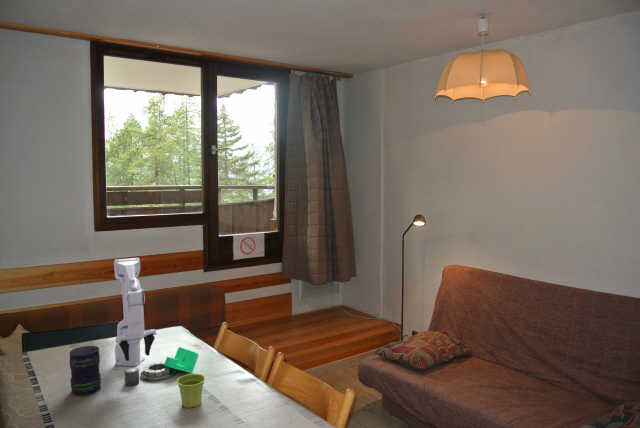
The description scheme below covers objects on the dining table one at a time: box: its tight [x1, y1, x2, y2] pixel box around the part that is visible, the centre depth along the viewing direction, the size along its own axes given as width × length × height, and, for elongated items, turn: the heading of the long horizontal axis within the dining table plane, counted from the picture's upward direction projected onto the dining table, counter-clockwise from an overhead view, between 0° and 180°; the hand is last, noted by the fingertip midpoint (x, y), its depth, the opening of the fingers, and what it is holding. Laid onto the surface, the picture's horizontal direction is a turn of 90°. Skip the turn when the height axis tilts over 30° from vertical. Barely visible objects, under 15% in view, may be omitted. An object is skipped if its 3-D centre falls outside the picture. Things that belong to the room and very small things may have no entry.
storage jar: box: [69, 345, 102, 397], centre depth 173 cm, size 10×10×15 cm
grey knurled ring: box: [139, 361, 176, 382], centre depth 187 cm, size 13×13×3 cm
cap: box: [124, 367, 140, 387], centre depth 179 cm, size 5×5×5 cm
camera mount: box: [164, 346, 199, 374], centre depth 189 cm, size 12×8×10 cm
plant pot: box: [176, 373, 206, 409], centre depth 161 cm, size 9×9×9 cm
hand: (137, 357), depth 180 cm, fingers open, 7 cm apart
